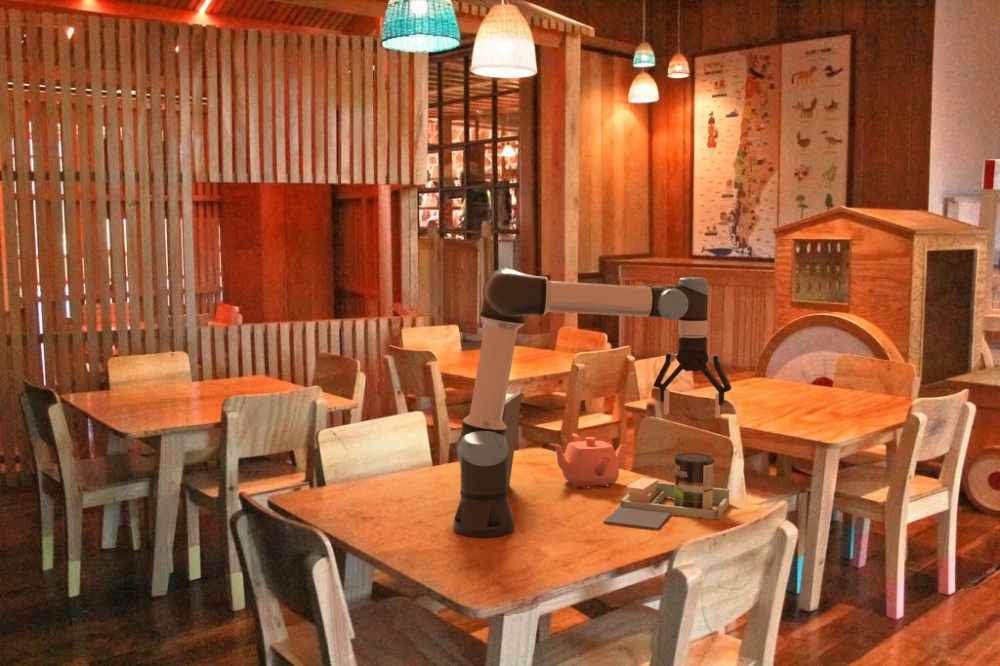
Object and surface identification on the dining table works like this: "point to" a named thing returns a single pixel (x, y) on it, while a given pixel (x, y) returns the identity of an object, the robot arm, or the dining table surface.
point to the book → (511, 426)
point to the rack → (652, 492)
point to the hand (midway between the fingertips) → (691, 415)
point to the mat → (637, 518)
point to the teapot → (590, 461)
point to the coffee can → (693, 480)
